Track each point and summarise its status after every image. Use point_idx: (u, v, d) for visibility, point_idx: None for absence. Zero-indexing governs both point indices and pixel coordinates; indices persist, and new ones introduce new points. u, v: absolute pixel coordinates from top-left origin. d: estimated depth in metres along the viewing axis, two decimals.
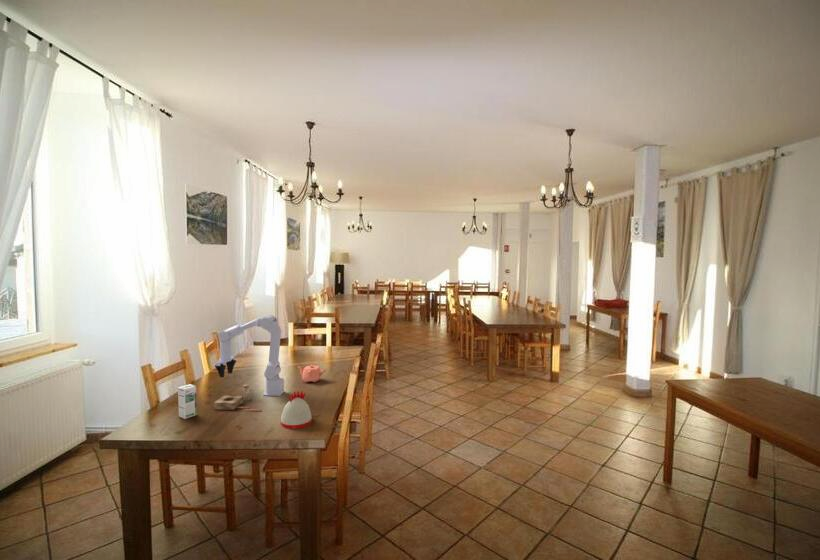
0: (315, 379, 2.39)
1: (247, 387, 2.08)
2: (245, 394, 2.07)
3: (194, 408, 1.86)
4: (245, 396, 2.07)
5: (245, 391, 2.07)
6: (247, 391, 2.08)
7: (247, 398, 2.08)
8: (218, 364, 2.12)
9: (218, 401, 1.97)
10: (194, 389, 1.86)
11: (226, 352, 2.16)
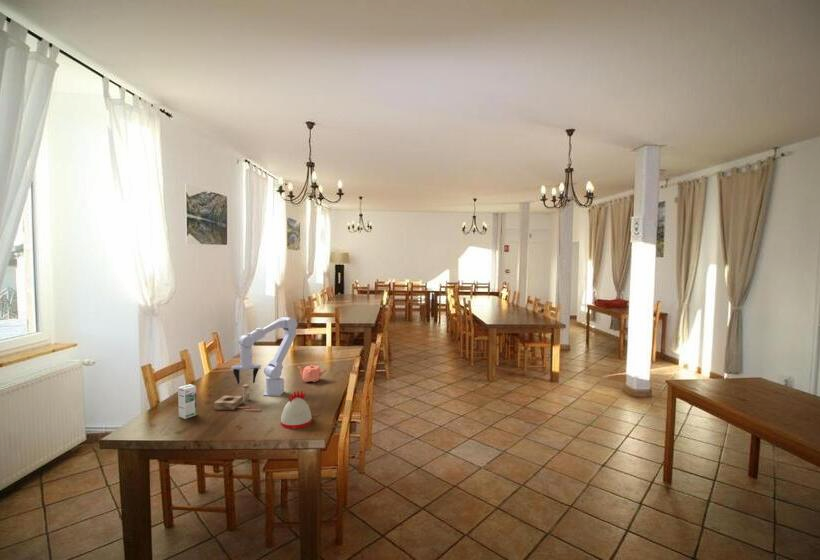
0: (315, 379, 2.39)
1: (247, 387, 2.08)
2: (245, 394, 2.07)
3: (194, 408, 1.86)
4: (245, 396, 2.07)
5: (245, 391, 2.07)
6: (247, 391, 2.08)
7: (247, 398, 2.08)
8: (231, 368, 2.06)
9: (218, 401, 1.97)
10: (194, 389, 1.86)
11: (241, 358, 2.05)
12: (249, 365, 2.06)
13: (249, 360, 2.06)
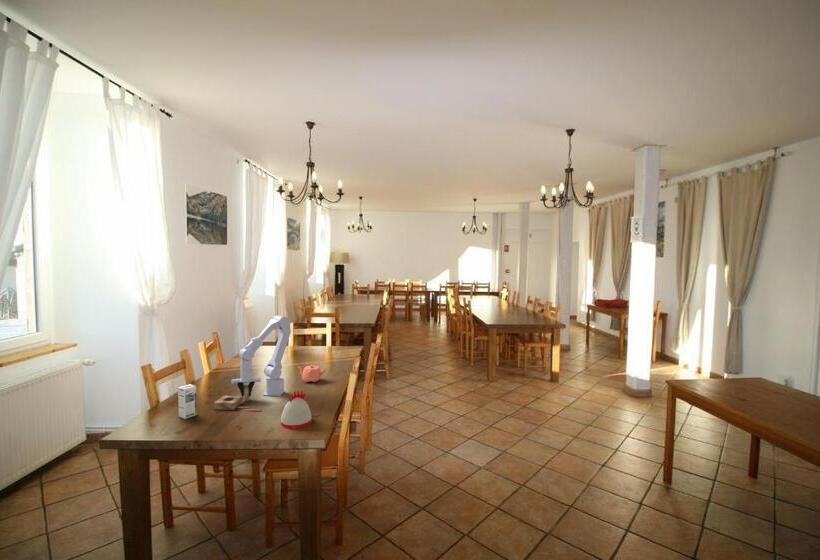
0: (315, 379, 2.39)
1: (247, 387, 2.08)
2: (245, 394, 2.07)
3: (194, 408, 1.86)
4: (245, 396, 2.07)
5: (245, 391, 2.07)
6: (247, 391, 2.08)
7: (247, 398, 2.08)
8: None
9: (218, 401, 1.97)
10: (194, 389, 1.86)
11: (241, 372, 2.06)
12: (249, 378, 2.07)
13: (249, 373, 2.07)
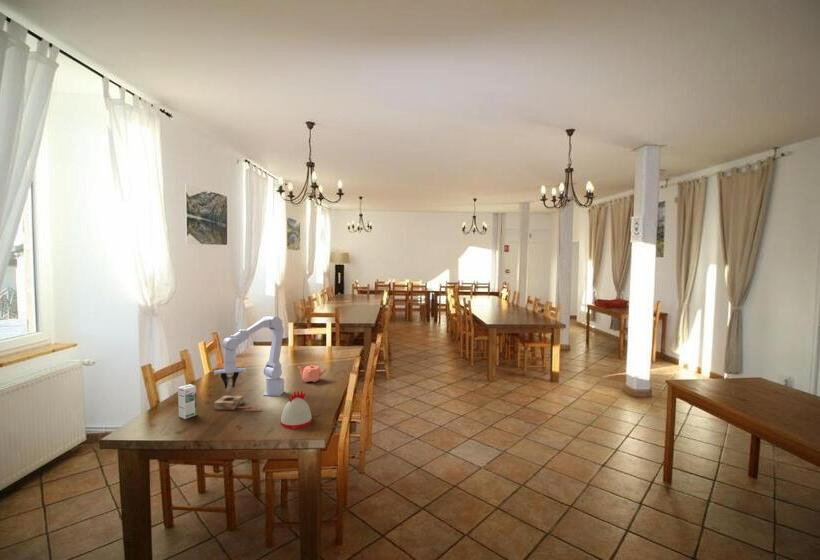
0: (315, 379, 2.39)
1: (231, 378, 1.99)
2: (229, 385, 1.99)
3: (194, 408, 1.86)
4: (229, 387, 1.99)
5: (229, 382, 1.99)
6: (231, 382, 1.99)
7: (231, 390, 1.99)
8: (214, 373, 1.97)
9: (218, 401, 1.97)
10: (194, 389, 1.86)
11: (225, 362, 1.97)
12: (233, 369, 1.99)
13: (233, 363, 1.98)
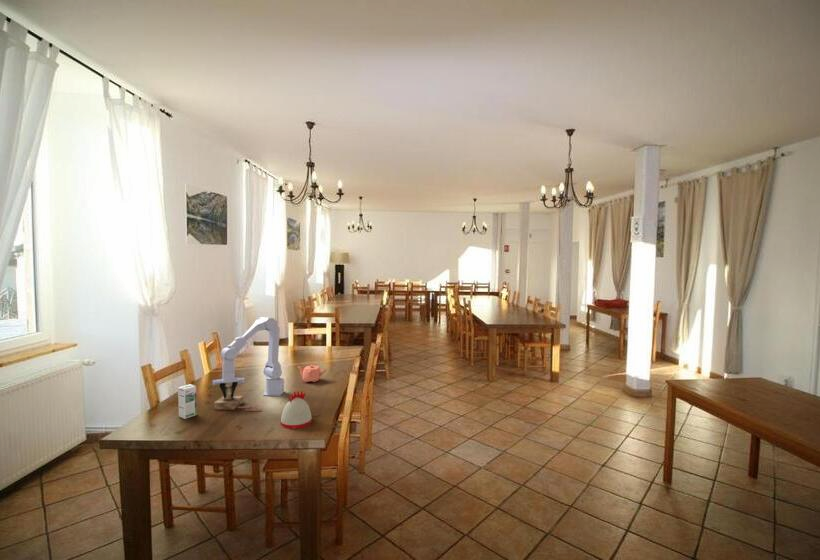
0: (315, 379, 2.39)
1: (229, 388, 1.99)
2: (227, 395, 1.98)
3: (194, 408, 1.86)
4: (227, 397, 1.98)
5: (227, 392, 1.98)
6: (229, 392, 1.99)
7: (229, 399, 1.99)
8: None
9: (218, 401, 1.97)
10: (194, 389, 1.86)
11: (223, 372, 1.97)
12: (232, 379, 1.98)
13: (232, 373, 1.98)
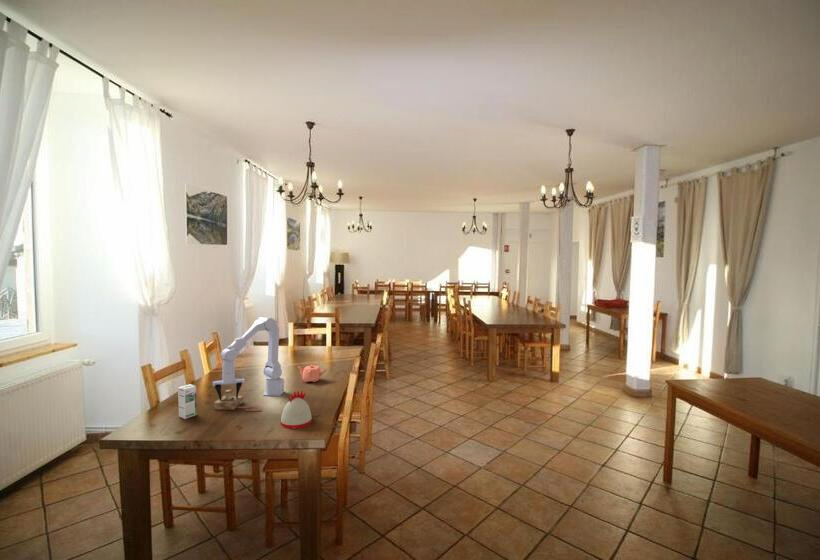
0: (315, 379, 2.39)
1: (230, 392, 1.99)
2: (227, 400, 1.99)
3: (194, 408, 1.86)
4: None
5: (227, 397, 1.98)
6: (230, 397, 1.99)
7: None
8: None
9: (218, 401, 1.97)
10: (194, 389, 1.86)
11: (223, 373, 1.97)
12: (232, 380, 1.98)
13: (232, 374, 1.98)
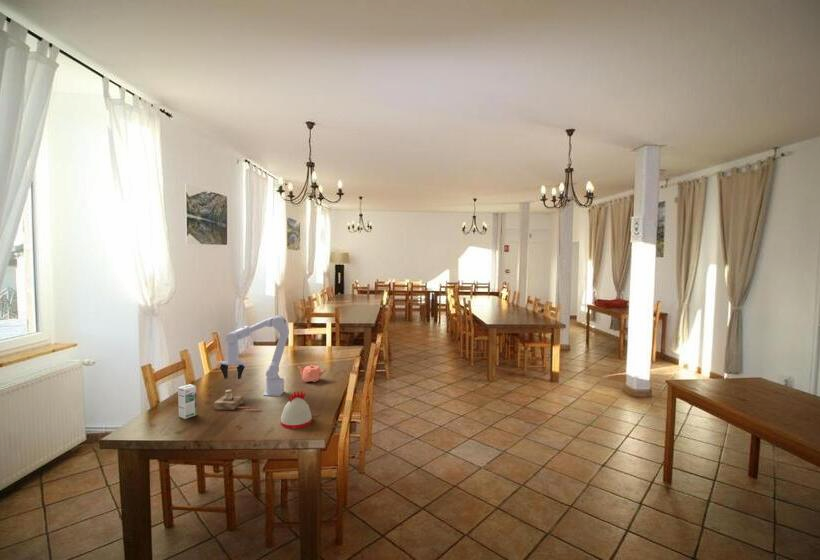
0: (315, 379, 2.39)
1: (230, 392, 1.99)
2: (227, 400, 1.99)
3: (194, 408, 1.86)
4: None
5: (227, 397, 1.98)
6: (230, 397, 1.99)
7: None
8: None
9: (218, 401, 1.97)
10: (194, 389, 1.86)
11: (227, 354, 2.11)
12: (234, 361, 2.11)
13: (234, 356, 2.11)
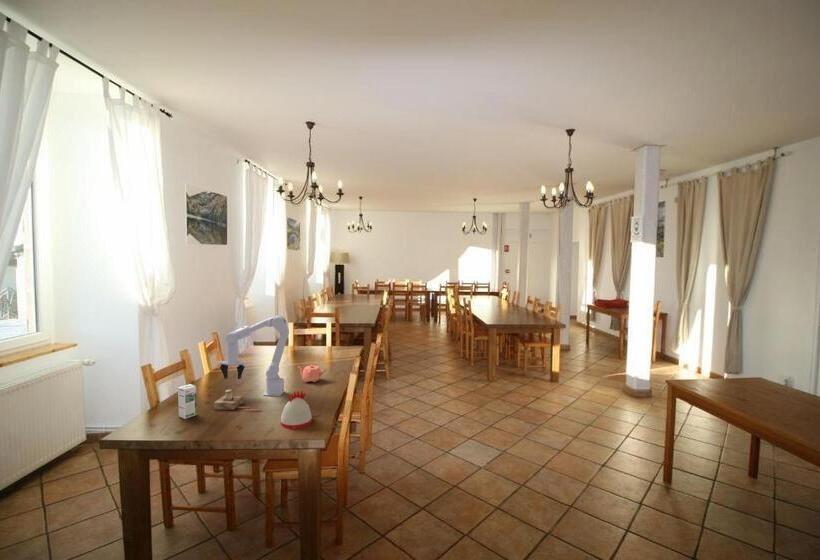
0: (315, 379, 2.39)
1: (230, 392, 1.99)
2: (227, 400, 1.99)
3: (194, 408, 1.86)
4: None
5: (227, 397, 1.98)
6: (230, 397, 1.99)
7: None
8: None
9: (218, 401, 1.97)
10: (194, 389, 1.86)
11: (227, 354, 2.11)
12: (234, 361, 2.11)
13: (234, 356, 2.11)
